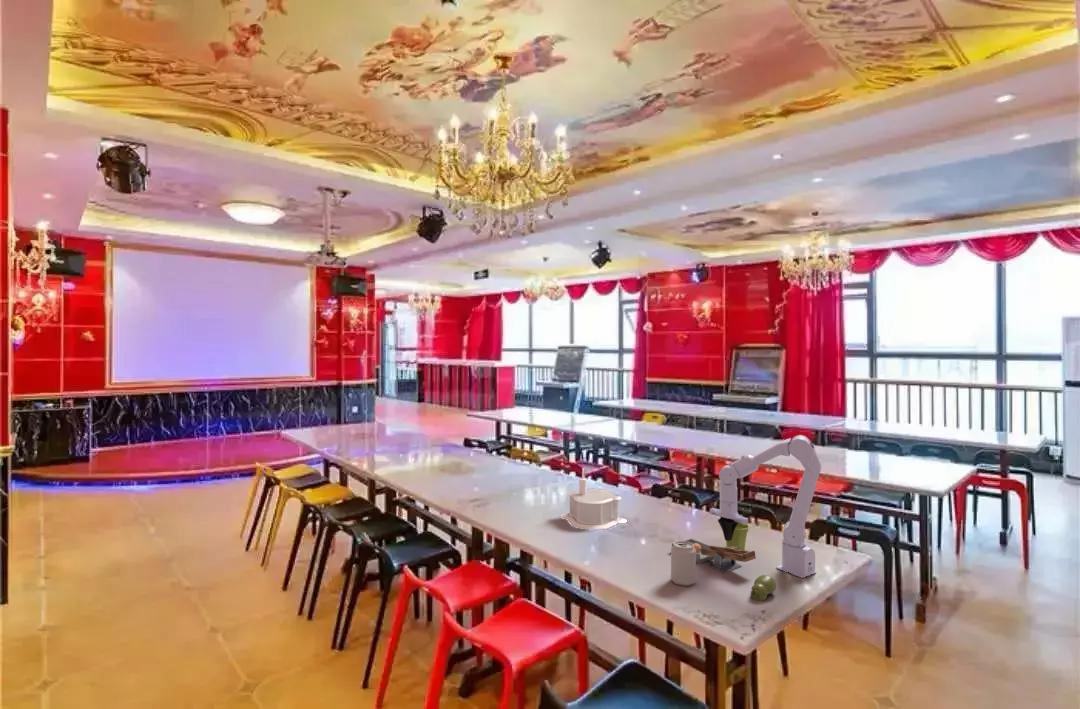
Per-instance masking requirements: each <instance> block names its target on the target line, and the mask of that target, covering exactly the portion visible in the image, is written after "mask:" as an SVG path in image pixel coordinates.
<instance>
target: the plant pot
mask: <svg viewBox="0 0 1080 709" xmlns="http://www.w3.org/2000/svg"><path fill="white" fill-rule="evenodd" d="M749 529H750V525H749V523H748V524H746V525H743V524H742V523H738V525H737V526H736V528H735V530H734V533H733V536H732V540H730V541H727V540H725V542H726V543H725V544H726V548H727V547H730V546H735V547H739V549H737V550H744V551H745V548H746V542H747V536H748V535H747V534H748V532H749Z"/></svg>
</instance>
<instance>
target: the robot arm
mask: <svg viewBox="0 0 1080 709" xmlns="http://www.w3.org/2000/svg"><path fill="white" fill-rule="evenodd" d="M790 455H791V456H793V457H794V458H795V459H796V460H798V462H800V463H801V465H802V466H803V468H804V471H803V474H802V478H801V481H800V484H799V488H798V492H797V496H796V499H795V502H794V506H793V509H792V512H791V515H790V518H789V519H788V520H787V521H786V523H785V525H784V530H783V533H782V536H783V539H782V540H781V541H782V544H781V545H782V546H781V549H782V550H781V551H782V552H781V564H780V565H778V566H776V569H778V570H780V571H782V570H783V572H786V573H788V572H789V573H788V574H790V573H791V575H793V576H796V577H799V578H801V579H803V578H806V576H807V577H810V576H812V575H813V574H814V575H815V574H817V571H816V552H815V550H814V549H813V548H811V547H809V546H808V545H807V541H806V540H805V538H806V537H805V534H806V522H807V518H808V514H809V511H810V507H811V504H812V501H813V497H814V494H815V492H816V491H815V490H816V486H817V483H818V479H819V478H820V473H821V470H822V463H821V461H820V458H819V456H818V453H817V450H816V447H815V445H814V443H812V442H811V440H810V439H809V438H808V437H807V436H806V435H803V434H798V435H795V436H793V437H792V438H791V437H789V438H787V439H785V440H782V441H780V442H778V443H776V444H774V445H772V446H771V447H768V448H766V449H765V450H763V451H761V452H759V453H757V454H756V455H750V454H747V455H745V454H743V455H741V456H740V458H739V459H737V460H735V461H733V462H732V461H730V462H729V463H728V464H726V465H724V466H723V467H722V468H721V469H720V471H719V473H718V478H719V483H720V486H719V508H715V507H712V508H709V515H711V516H712V515H713V516H715V517H720V518H718V519H717V523H719V527H720V529H721V531H722V534H723V538H724V541H726V540H727V541H730V540H732V536H733V533H734V530H735V528H736V526H737V525H738V523H742V524H743V525H746V524H748V525H749V517H745V516H743V515H741V514H739V512H738V486H737V485H738V483H737V482H738V480H737V479H742V478H745V477H747V476H748V475H750V474H753V473H755V472H756V471H758V470H759V467H760V465H762V464H764V463H767V462H768V461H770V460H772V459H774V458H777V457H779V456H784V457H790ZM811 574H812V575H811Z"/></svg>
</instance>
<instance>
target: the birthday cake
mask: <svg viewBox="0 0 1080 709" xmlns="http://www.w3.org/2000/svg"><path fill="white" fill-rule="evenodd" d="M581 471H582V472H581V475H582V476H581V478H579V479H578V481H579V482H578V484H579V485H578V486H579V487H578V488H579V490H578V491H570V492H568V493H567V494H566V496H568V497H569V513H564V514H561V517H562V518H564V519H568V521H569V522H570V523H571V525H572V526H575V527H578V528H583V529H607V528H609V527H611V526H613V525H616V524H617V523H626V522H627V520H628V519H626V518H622V517H620V516H619V500H622V497H621V496H619V495H618V494H614V493H613V492H611V491H610V490H607V489H601V488H587V478H585V468H584V467H583V468H582V470H581ZM618 516H619V517H618ZM572 526H571V527H572Z"/></svg>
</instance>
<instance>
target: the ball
mask: <svg viewBox="0 0 1080 709" xmlns="http://www.w3.org/2000/svg"><path fill="white" fill-rule="evenodd" d="M693 545H694V548H695V549H696V553H700V552H701V546H700V545H699V544H697V543H694V544H693Z"/></svg>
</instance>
